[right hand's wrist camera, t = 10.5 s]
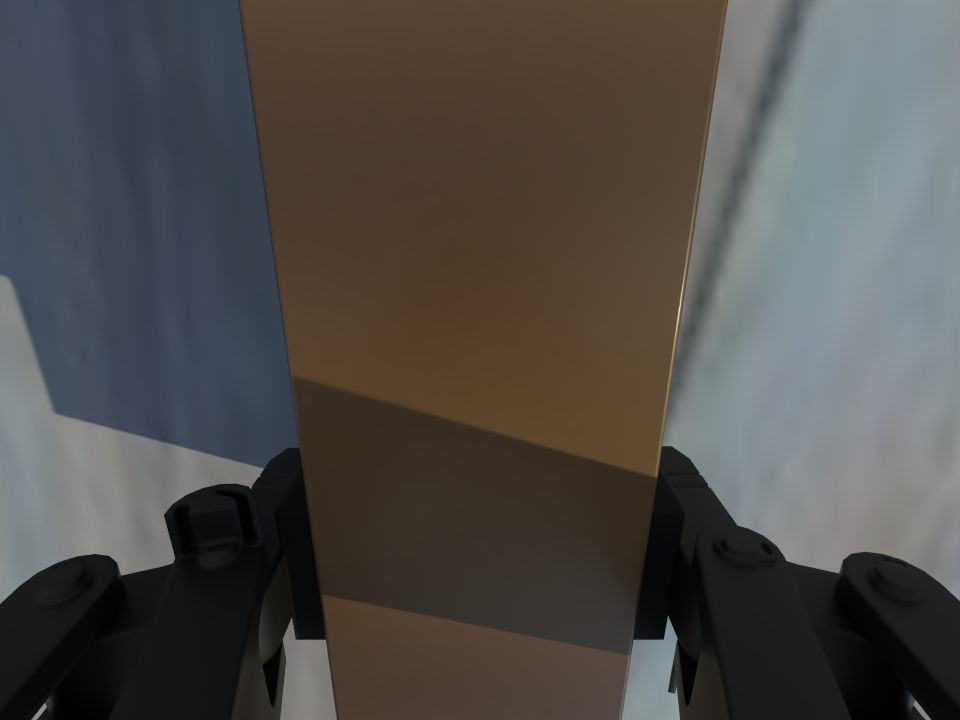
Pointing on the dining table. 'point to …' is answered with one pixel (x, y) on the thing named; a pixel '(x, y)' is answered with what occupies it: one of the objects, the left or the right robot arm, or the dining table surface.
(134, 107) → the dining table surface
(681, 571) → the right robot arm
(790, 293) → the dining table surface
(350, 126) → the bar
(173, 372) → the dining table surface
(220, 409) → the dining table surface
